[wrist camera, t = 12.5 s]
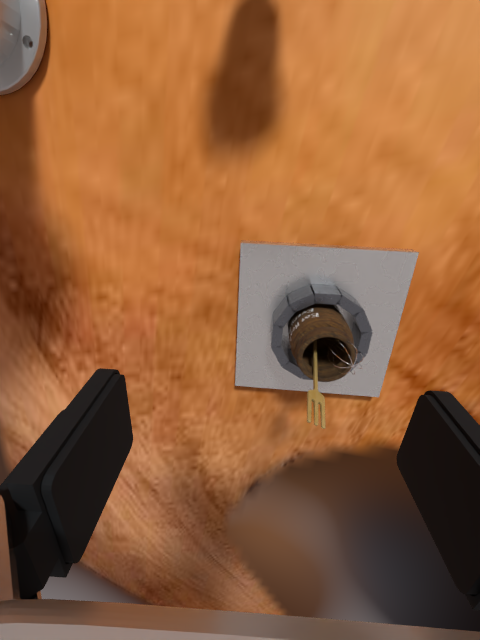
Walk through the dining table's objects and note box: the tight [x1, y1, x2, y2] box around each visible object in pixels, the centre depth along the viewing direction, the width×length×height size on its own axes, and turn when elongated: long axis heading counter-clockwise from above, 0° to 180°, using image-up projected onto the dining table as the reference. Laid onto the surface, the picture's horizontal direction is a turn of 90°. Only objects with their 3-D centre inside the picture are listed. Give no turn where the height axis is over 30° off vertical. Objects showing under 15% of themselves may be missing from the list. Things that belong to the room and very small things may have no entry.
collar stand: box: [235, 240, 419, 397], centre depth 33 cm, size 17×17×4 cm
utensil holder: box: [288, 303, 363, 429], centre depth 28 cm, size 6×6×12 cm
